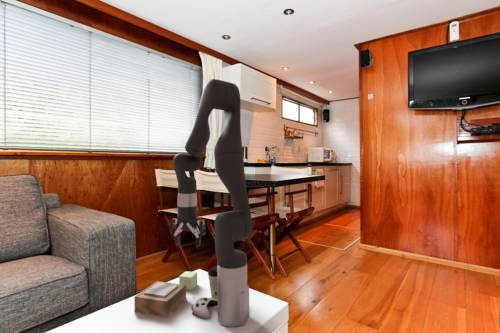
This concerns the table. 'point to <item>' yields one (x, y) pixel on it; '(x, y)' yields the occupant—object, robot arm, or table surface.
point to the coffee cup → (213, 281)
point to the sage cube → (188, 279)
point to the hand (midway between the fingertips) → (187, 245)
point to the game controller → (203, 307)
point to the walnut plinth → (160, 298)
